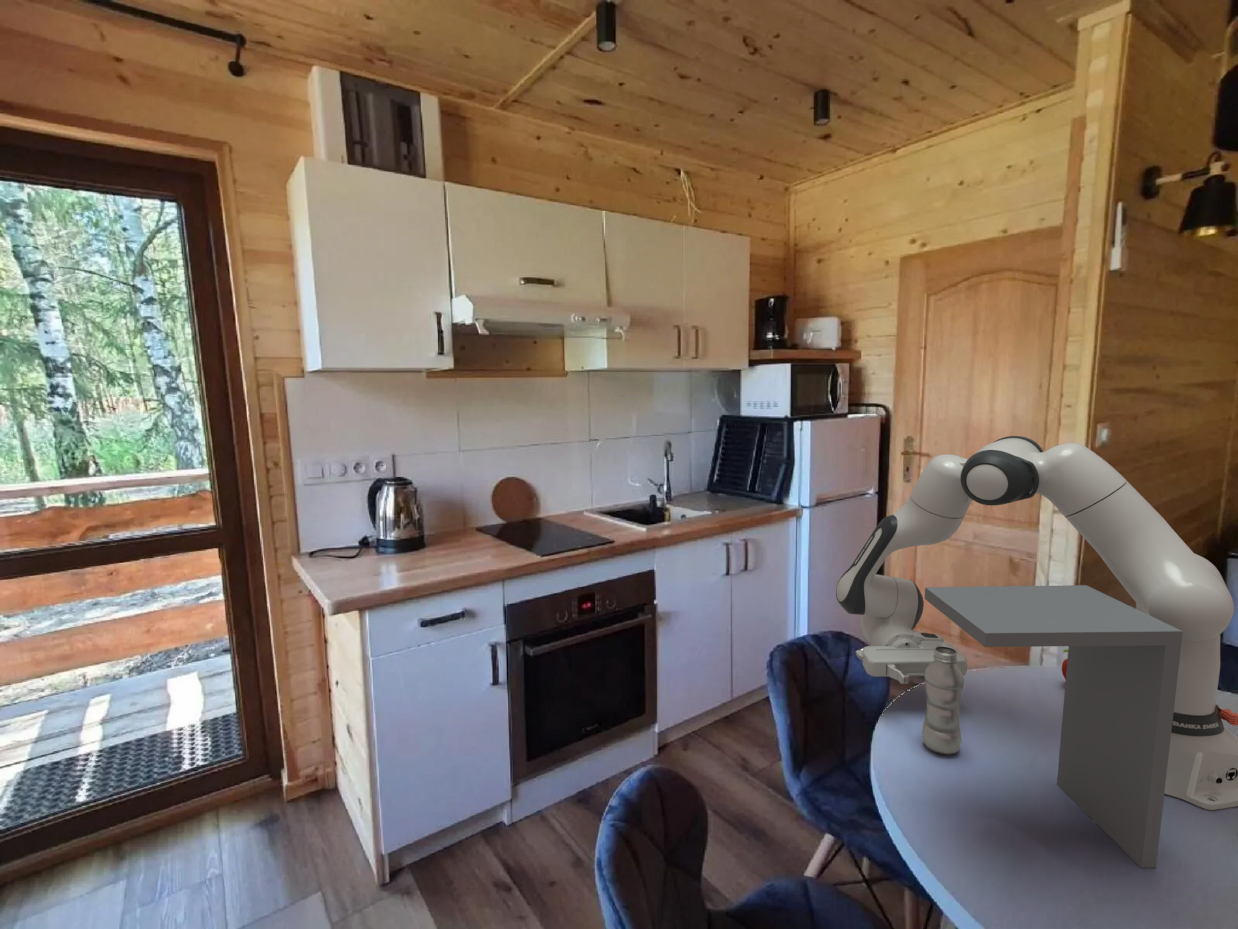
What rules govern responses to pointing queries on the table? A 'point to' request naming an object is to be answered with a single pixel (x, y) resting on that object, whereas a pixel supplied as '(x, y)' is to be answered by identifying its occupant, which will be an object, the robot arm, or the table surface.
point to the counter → (1093, 694)
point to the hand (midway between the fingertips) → (929, 680)
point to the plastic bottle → (943, 702)
